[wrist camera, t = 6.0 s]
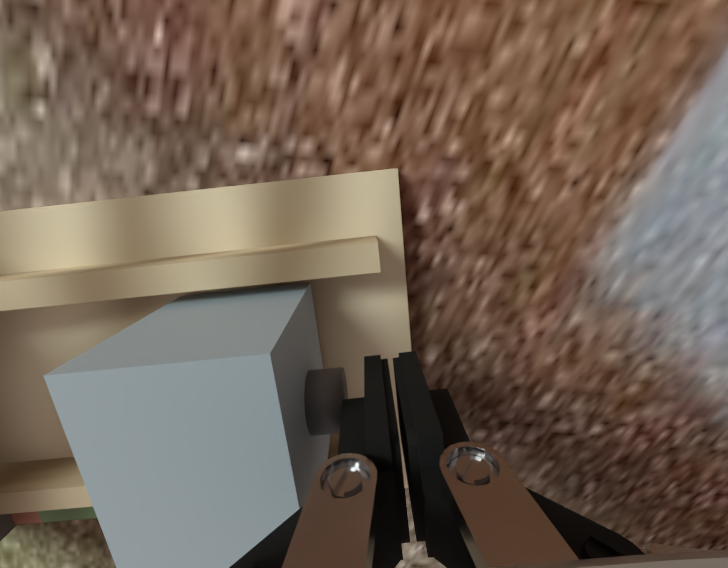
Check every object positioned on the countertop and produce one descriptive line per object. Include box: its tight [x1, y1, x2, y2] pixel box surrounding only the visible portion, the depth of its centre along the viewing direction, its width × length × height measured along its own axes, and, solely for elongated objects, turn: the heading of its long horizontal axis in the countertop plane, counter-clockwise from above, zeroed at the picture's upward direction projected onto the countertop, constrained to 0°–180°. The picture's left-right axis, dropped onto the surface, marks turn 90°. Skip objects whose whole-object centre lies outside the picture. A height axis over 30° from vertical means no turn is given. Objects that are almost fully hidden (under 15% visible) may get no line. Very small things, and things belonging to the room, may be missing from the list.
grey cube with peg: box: [44, 283, 348, 568], centre depth 12 cm, size 6×10×6 cm, turn 6°
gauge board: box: [0, 168, 411, 541], centre depth 11 cm, size 22×14×8 cm, turn 96°
